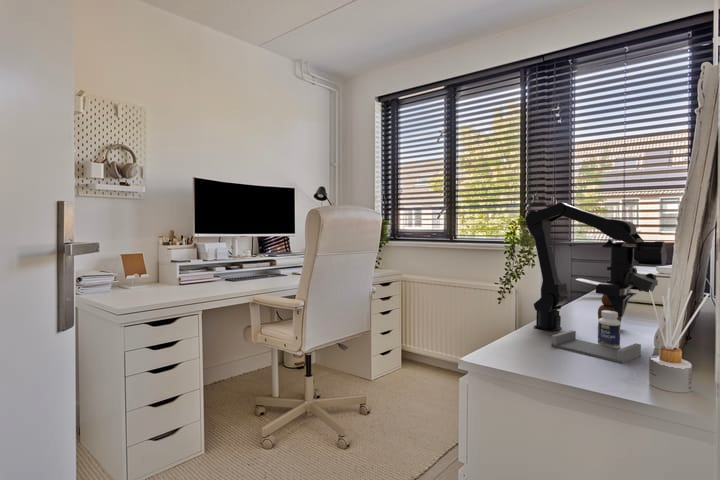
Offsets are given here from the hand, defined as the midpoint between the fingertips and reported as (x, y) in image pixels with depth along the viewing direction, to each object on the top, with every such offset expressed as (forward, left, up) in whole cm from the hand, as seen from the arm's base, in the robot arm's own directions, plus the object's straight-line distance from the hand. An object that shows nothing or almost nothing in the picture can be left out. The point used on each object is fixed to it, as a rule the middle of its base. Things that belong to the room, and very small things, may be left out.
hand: (620, 316), depth 119 cm
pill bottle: (0, -7, -8) cm, 10 cm away
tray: (0, -15, -8) cm, 17 cm away
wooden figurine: (-10, +17, -8) cm, 21 cm away
